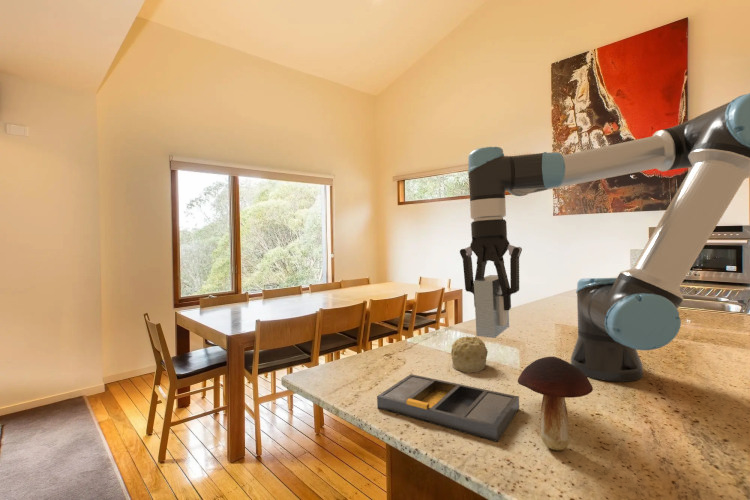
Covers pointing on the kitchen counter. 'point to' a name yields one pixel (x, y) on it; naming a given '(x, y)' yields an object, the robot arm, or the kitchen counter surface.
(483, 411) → the rack
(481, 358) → the decorative item
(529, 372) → the decorative mushroom
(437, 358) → the kitchen counter surface
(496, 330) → the panel
